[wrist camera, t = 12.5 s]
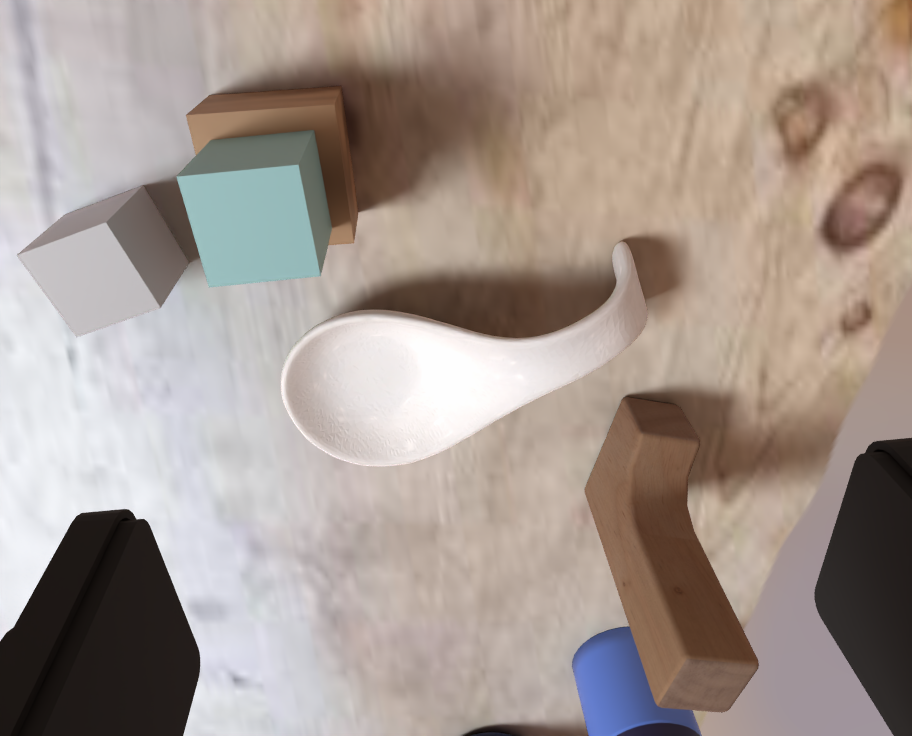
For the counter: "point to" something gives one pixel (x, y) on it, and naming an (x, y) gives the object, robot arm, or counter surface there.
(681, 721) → the water bottle
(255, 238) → the teal block
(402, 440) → the spoon rest
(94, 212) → the grey block
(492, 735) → the canister
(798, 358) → the counter surface
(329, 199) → the walnut block
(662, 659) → the wooden block
